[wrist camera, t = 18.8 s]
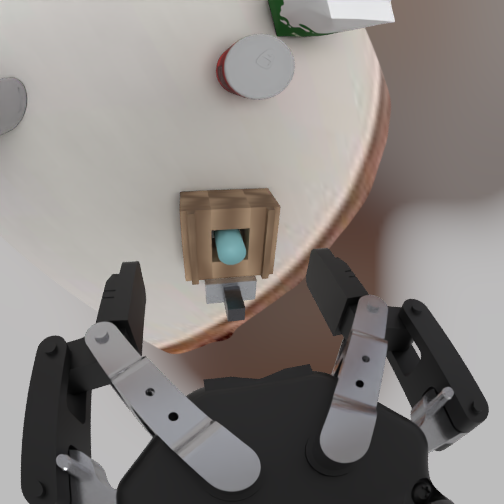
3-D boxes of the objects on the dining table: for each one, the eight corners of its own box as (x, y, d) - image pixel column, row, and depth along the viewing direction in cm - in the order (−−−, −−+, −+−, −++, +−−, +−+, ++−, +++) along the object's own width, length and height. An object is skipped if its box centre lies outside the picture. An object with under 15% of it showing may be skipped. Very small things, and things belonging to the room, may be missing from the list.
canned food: (276, 53, 34) (304, 46, 25) (260, 100, 38) (282, 108, 29) (224, 38, 31) (237, 24, 23) (209, 88, 35) (215, 90, 27)
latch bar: (206, 298, 47) (209, 326, 42) (204, 280, 45) (208, 307, 40) (253, 294, 49) (261, 321, 44) (255, 275, 46) (264, 302, 41)
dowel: (212, 234, 49) (218, 266, 42) (211, 213, 47) (217, 242, 39) (236, 232, 50) (246, 263, 42) (236, 211, 47) (246, 240, 40)
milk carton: (314, -11, 28) (394, -47, 12) (326, 38, 33) (414, 28, 17) (258, -9, 28) (313, -61, 12) (272, 43, 33) (337, 22, 17)
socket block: (184, 255, 50) (186, 285, 44) (180, 192, 43) (179, 214, 37) (262, 250, 53) (274, 277, 46) (268, 188, 46) (282, 209, 40)
